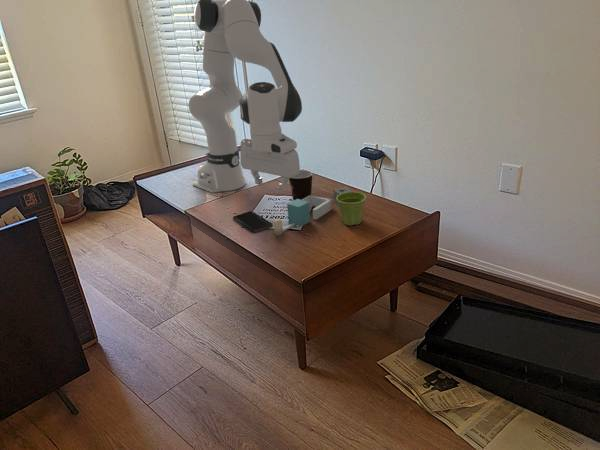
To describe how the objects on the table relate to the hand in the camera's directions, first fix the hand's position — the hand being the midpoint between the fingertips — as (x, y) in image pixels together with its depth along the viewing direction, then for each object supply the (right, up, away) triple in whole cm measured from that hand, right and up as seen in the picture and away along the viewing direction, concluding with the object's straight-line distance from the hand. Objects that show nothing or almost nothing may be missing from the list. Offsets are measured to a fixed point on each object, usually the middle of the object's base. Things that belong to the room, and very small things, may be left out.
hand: (270, 186), depth 146 cm
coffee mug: (+10, -2, +33) cm, 34 cm away
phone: (-7, -11, +17) cm, 21 cm away
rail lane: (+13, -7, +21) cm, 26 cm away
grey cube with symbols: (+24, -4, +26) cm, 36 cm away
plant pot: (+26, -11, +12) cm, 30 cm away
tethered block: (+6, -12, +11) cm, 18 cm away
